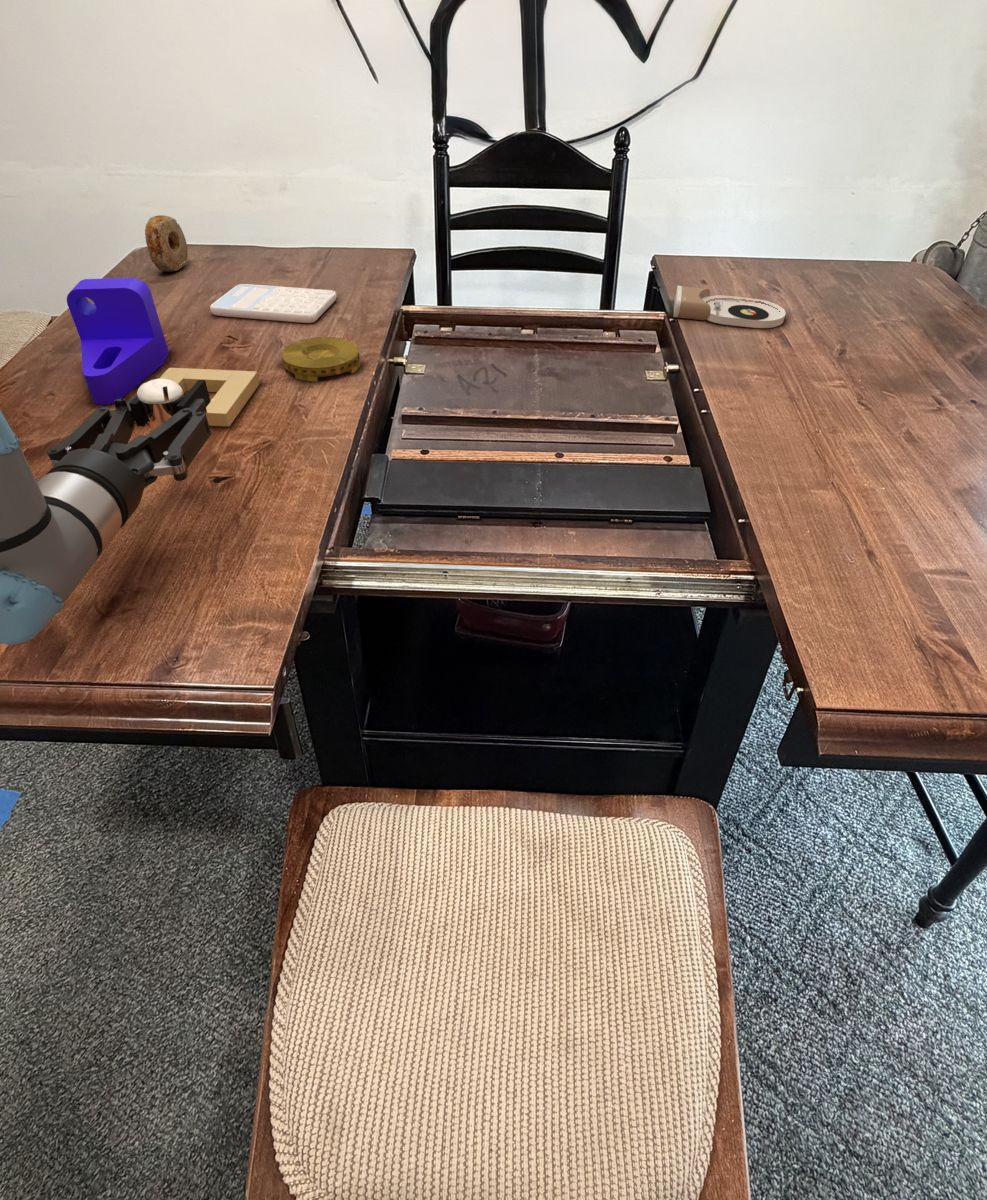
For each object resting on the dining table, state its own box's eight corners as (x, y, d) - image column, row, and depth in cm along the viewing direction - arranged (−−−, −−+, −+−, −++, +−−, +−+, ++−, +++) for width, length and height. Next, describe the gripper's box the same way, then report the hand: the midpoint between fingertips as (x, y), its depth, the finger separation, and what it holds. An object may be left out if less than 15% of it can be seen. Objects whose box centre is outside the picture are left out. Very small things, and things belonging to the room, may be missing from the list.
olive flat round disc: (372, 371, 112) (371, 357, 111) (299, 387, 107) (297, 374, 106) (342, 344, 120) (341, 331, 118) (273, 359, 115) (271, 346, 113)
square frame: (133, 422, 99) (128, 409, 97) (172, 379, 109) (169, 367, 107) (229, 426, 98) (226, 413, 97) (260, 383, 108) (257, 371, 107)
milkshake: (166, 474, 80) (141, 391, 73) (151, 453, 83) (126, 371, 76) (206, 463, 82) (186, 381, 75) (190, 443, 85) (170, 363, 78)
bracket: (99, 355, 115) (71, 279, 107) (169, 352, 116) (146, 277, 108) (64, 406, 102) (29, 324, 94) (143, 402, 103) (115, 321, 95)
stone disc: (169, 278, 143) (154, 224, 137) (152, 276, 144) (136, 222, 137) (195, 262, 151) (182, 210, 144) (179, 261, 151) (165, 209, 145)
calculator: (314, 324, 126) (312, 313, 125) (208, 316, 128) (206, 305, 127) (339, 299, 136) (337, 288, 135) (240, 291, 138) (238, 281, 137)
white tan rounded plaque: (677, 282, 136) (785, 292, 134) (674, 299, 138) (780, 309, 136) (676, 303, 128) (791, 315, 125) (673, 320, 130) (785, 332, 127)
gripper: (8, 531, 68) (120, 415, 85) (187, 541, 67) (263, 422, 84) (-30, 463, 63) (97, 354, 80) (164, 473, 62) (250, 361, 79)
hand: (182, 389), depth 82 cm, fingers closed on milkshake, 4 cm apart
